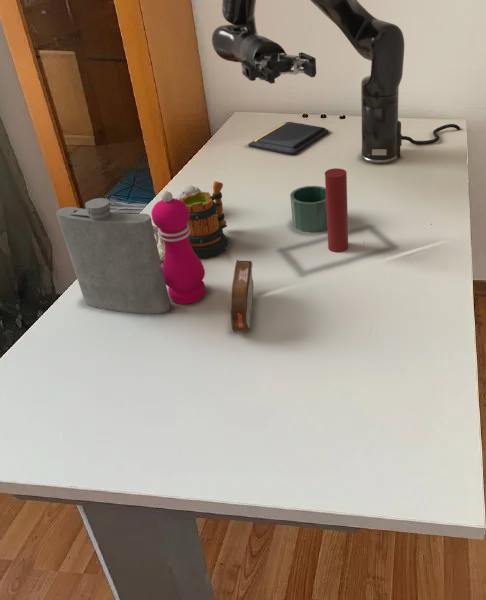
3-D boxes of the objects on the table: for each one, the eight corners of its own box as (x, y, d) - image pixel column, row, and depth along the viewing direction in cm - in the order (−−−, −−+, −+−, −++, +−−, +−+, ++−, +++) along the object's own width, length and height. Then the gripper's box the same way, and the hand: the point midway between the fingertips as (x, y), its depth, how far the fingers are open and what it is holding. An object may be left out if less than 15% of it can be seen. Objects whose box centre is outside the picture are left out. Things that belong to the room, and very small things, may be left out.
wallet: (292, 149, 164) (245, 139, 170) (293, 156, 165) (246, 146, 171) (331, 125, 178) (286, 117, 184) (331, 132, 179) (287, 124, 185)
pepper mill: (216, 288, 113) (197, 186, 102) (192, 309, 108) (169, 204, 97) (183, 280, 116) (162, 179, 104) (158, 300, 110) (132, 197, 99)
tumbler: (322, 212, 138) (320, 182, 134) (340, 228, 132) (339, 197, 128) (286, 220, 135) (283, 191, 131) (303, 237, 129) (300, 207, 125)
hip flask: (173, 303, 110) (150, 200, 98) (163, 317, 106) (138, 211, 95) (91, 294, 112) (59, 191, 101) (78, 307, 109) (44, 203, 97)
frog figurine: (188, 225, 134) (182, 195, 130) (173, 213, 138) (167, 184, 134) (213, 216, 137) (208, 186, 133) (198, 205, 141) (192, 176, 137)
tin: (239, 290, 113) (234, 250, 108) (257, 290, 113) (252, 249, 108) (232, 343, 101) (225, 300, 96) (252, 342, 101) (246, 299, 96)
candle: (342, 240, 127) (340, 166, 118) (351, 249, 124) (350, 174, 115) (324, 245, 125) (321, 170, 116) (333, 254, 123) (330, 178, 113)
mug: (208, 264, 120) (199, 210, 114) (167, 252, 124) (155, 199, 117) (248, 235, 130) (241, 183, 123) (208, 224, 134) (200, 174, 127)
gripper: (294, 70, 137) (327, 89, 125) (232, 79, 131) (260, 100, 119) (292, 33, 132) (325, 50, 121) (227, 41, 127) (256, 59, 115)
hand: (293, 75), depth 120 cm, fingers open, 8 cm apart
